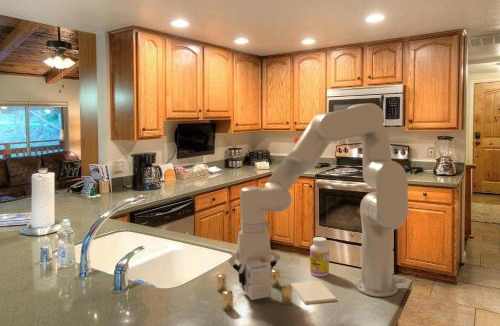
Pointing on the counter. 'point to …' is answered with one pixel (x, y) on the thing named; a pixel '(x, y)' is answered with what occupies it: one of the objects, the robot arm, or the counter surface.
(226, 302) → the brass cylinders
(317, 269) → the supplement bottle
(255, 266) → the light bulb box
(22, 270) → the counter surface
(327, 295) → the plate
